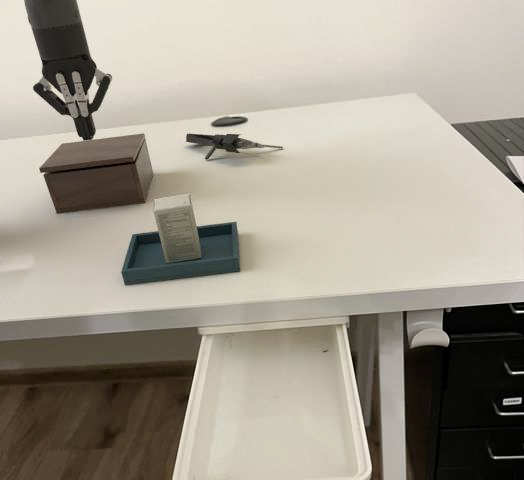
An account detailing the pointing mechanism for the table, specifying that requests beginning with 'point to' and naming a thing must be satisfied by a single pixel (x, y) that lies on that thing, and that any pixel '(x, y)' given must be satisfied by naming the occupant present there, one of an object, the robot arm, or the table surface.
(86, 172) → the chest
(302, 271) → the table surface
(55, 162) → the lid
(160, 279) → the tray
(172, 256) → the small box
